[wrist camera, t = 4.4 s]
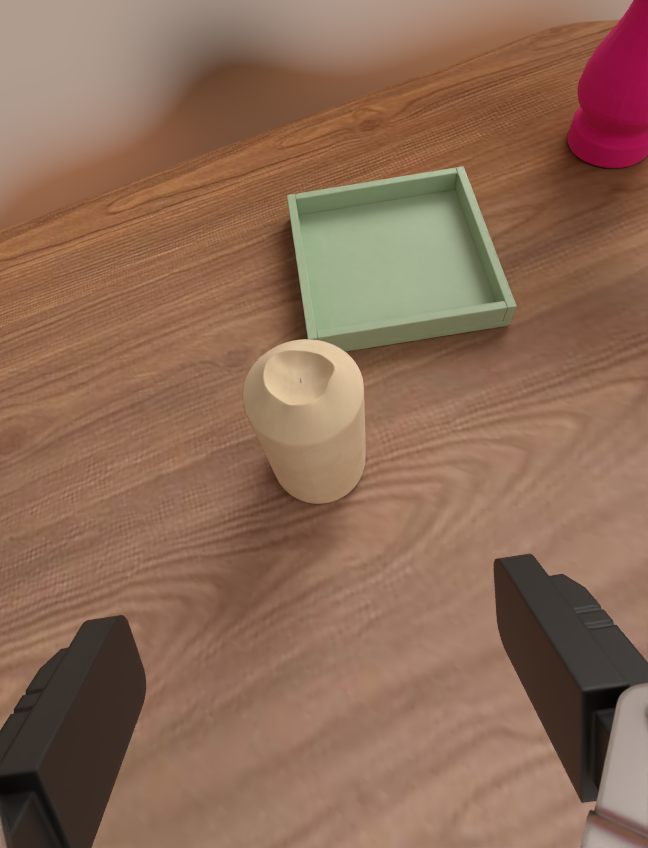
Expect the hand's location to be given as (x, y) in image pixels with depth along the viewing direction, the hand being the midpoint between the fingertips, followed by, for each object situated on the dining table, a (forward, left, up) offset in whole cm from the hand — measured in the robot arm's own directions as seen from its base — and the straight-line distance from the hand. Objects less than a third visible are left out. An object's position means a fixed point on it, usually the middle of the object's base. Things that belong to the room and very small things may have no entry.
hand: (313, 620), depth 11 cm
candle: (0, +11, -17) cm, 20 cm away
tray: (+7, +25, -17) cm, 31 cm away
